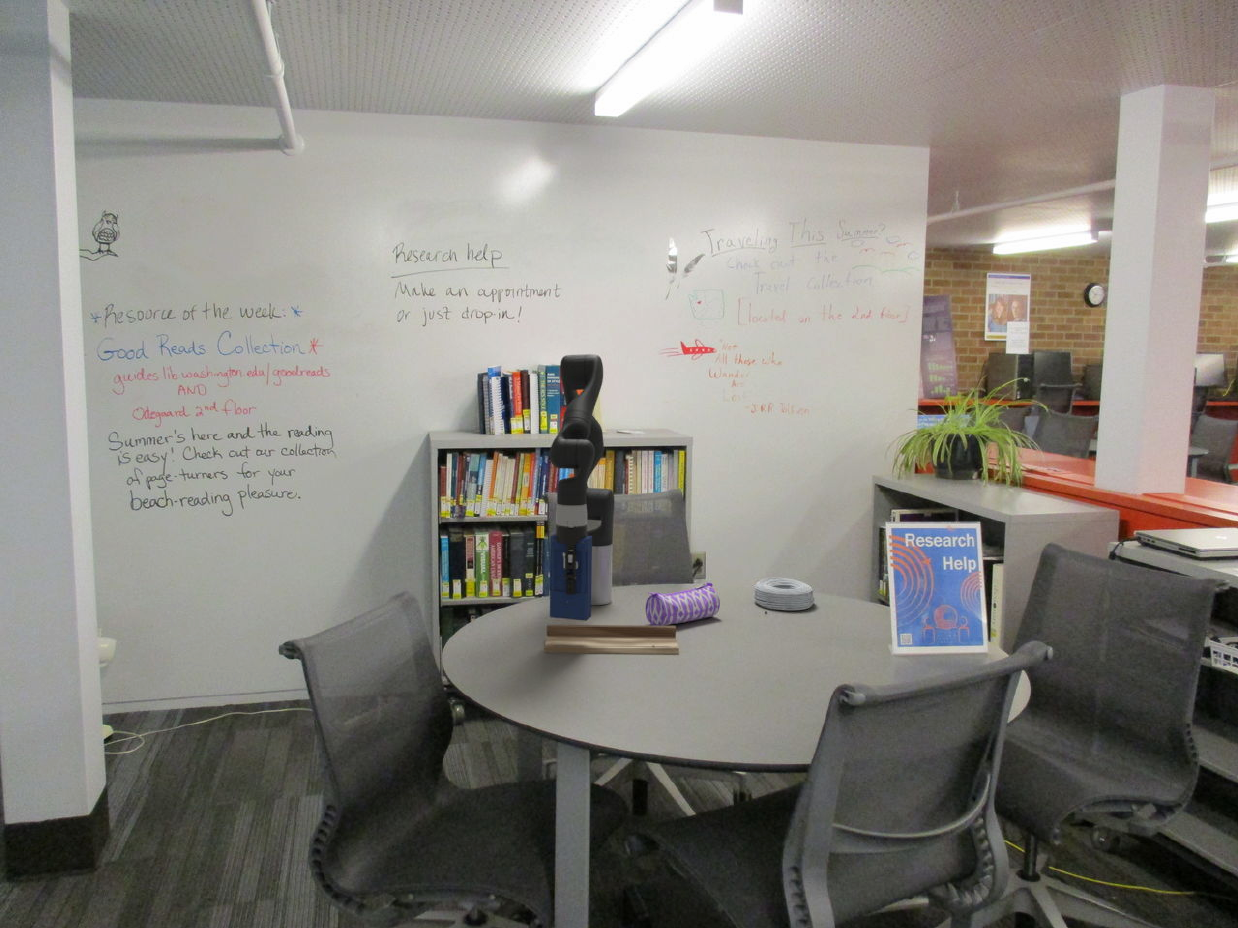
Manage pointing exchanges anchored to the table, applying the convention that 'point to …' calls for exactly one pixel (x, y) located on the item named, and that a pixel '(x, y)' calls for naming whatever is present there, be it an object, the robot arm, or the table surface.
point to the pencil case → (682, 605)
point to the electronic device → (581, 600)
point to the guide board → (612, 639)
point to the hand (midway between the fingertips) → (570, 590)
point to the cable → (783, 594)
